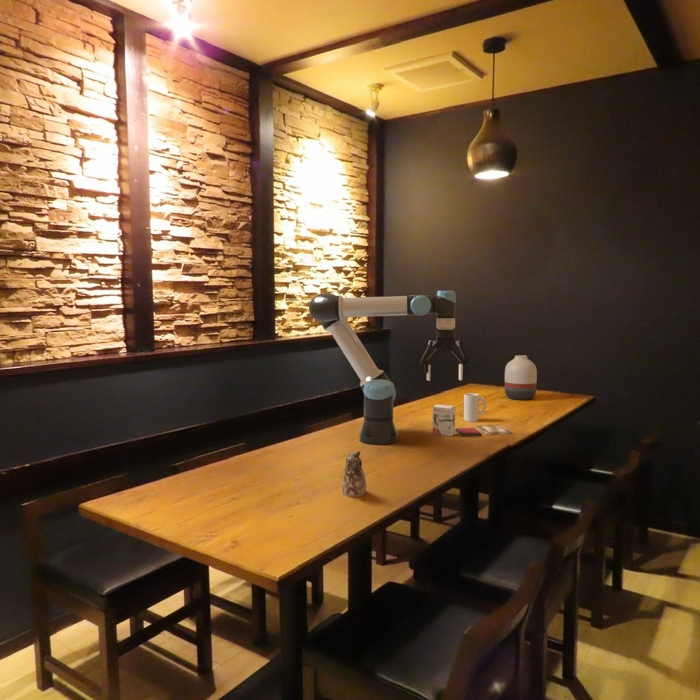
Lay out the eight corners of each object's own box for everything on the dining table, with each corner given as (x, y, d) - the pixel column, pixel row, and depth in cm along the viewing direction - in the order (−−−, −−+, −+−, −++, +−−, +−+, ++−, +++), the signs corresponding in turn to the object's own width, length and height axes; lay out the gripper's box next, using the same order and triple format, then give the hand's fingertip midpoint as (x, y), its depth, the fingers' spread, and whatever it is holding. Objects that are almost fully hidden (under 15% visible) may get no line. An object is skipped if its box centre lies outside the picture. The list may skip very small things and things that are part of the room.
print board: (486, 434, 246) (486, 432, 246) (475, 427, 258) (475, 425, 258) (511, 433, 247) (511, 431, 247) (500, 426, 260) (500, 424, 260)
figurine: (336, 492, 175) (336, 452, 174) (354, 487, 180) (354, 448, 179) (354, 498, 170) (354, 457, 169) (371, 492, 175) (371, 452, 174)
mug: (463, 421, 271) (463, 395, 270) (463, 418, 278) (464, 392, 277) (485, 422, 269) (486, 396, 268) (486, 419, 275) (486, 393, 274)
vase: (539, 397, 333) (540, 355, 331) (531, 402, 319) (532, 358, 316) (509, 394, 342) (510, 353, 340) (500, 399, 328) (501, 356, 325)
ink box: (431, 434, 247) (432, 406, 246) (435, 431, 251) (436, 404, 250) (451, 436, 243) (452, 407, 242) (455, 434, 247) (456, 405, 246)
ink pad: (462, 436, 243) (462, 433, 243) (455, 430, 253) (455, 428, 253) (481, 435, 244) (481, 432, 244) (473, 430, 254) (473, 427, 254)
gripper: (418, 329, 238) (417, 382, 240) (478, 329, 241) (476, 381, 243) (413, 328, 245) (412, 379, 247) (472, 328, 248) (470, 378, 250)
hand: (444, 380), depth 245 cm, fingers open, 13 cm apart
